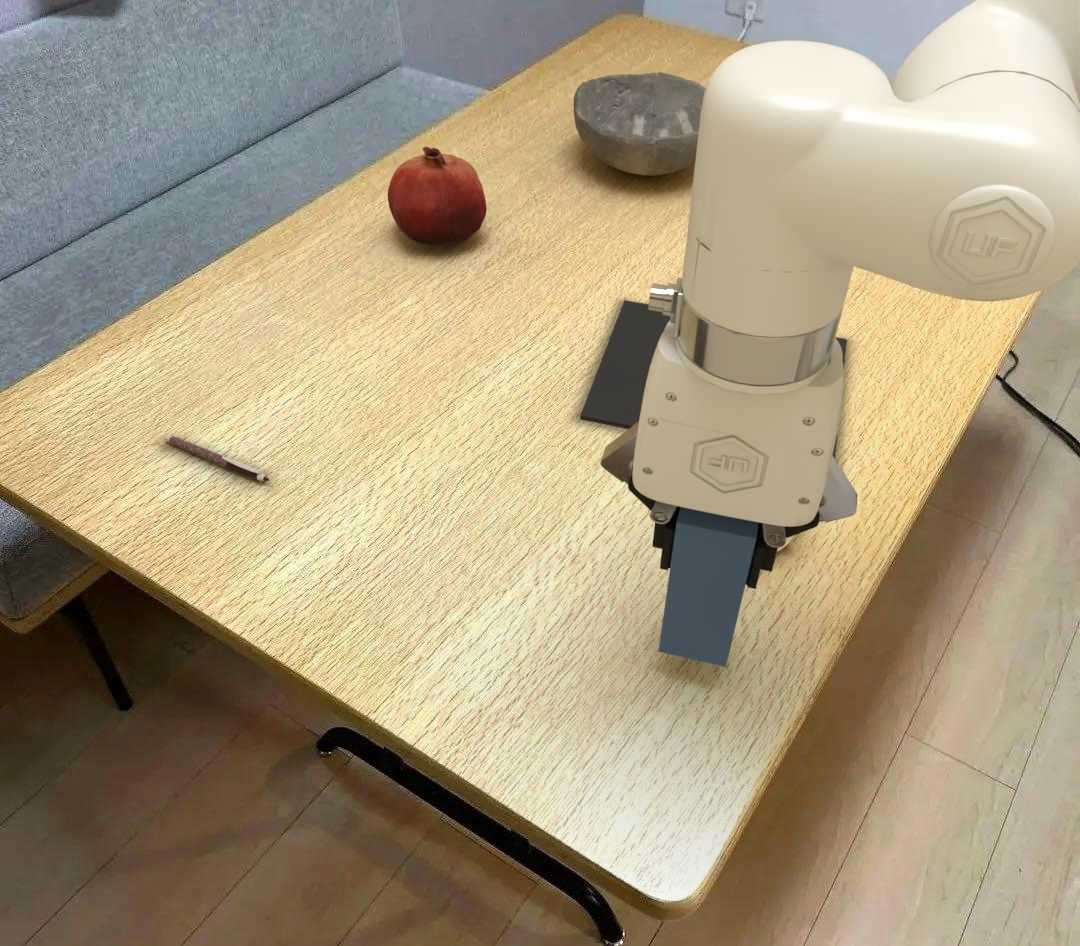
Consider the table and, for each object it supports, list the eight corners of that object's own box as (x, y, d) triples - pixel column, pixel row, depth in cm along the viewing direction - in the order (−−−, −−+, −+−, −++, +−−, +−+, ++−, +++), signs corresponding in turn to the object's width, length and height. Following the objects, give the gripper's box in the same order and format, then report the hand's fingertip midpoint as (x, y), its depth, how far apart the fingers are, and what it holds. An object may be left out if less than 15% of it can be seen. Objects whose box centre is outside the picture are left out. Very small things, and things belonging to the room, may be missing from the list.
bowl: (725, 202, 110) (736, 136, 104) (573, 200, 110) (576, 134, 104) (706, 129, 122) (715, 67, 116) (570, 128, 122) (572, 66, 116)
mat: (845, 342, 92) (846, 338, 91) (833, 469, 80) (834, 466, 79) (624, 303, 96) (624, 299, 95) (580, 418, 84) (580, 415, 83)
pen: (272, 480, 78) (270, 472, 77) (266, 486, 77) (263, 478, 77) (167, 436, 81) (164, 427, 81) (161, 441, 81) (157, 433, 80)
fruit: (374, 249, 102) (363, 162, 95) (419, 205, 108) (412, 121, 101) (462, 272, 99) (457, 185, 92) (503, 226, 105) (502, 141, 98)
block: (735, 613, 65) (765, 482, 56) (725, 667, 62) (756, 538, 53) (670, 599, 66) (690, 468, 57) (658, 651, 63) (676, 522, 54)
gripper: (566, 339, 45) (563, 578, 58) (940, 402, 41) (847, 641, 54) (602, 254, 50) (592, 492, 63) (939, 304, 46) (854, 544, 59)
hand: (711, 559), depth 58 cm, fingers closed on block, 4 cm apart
